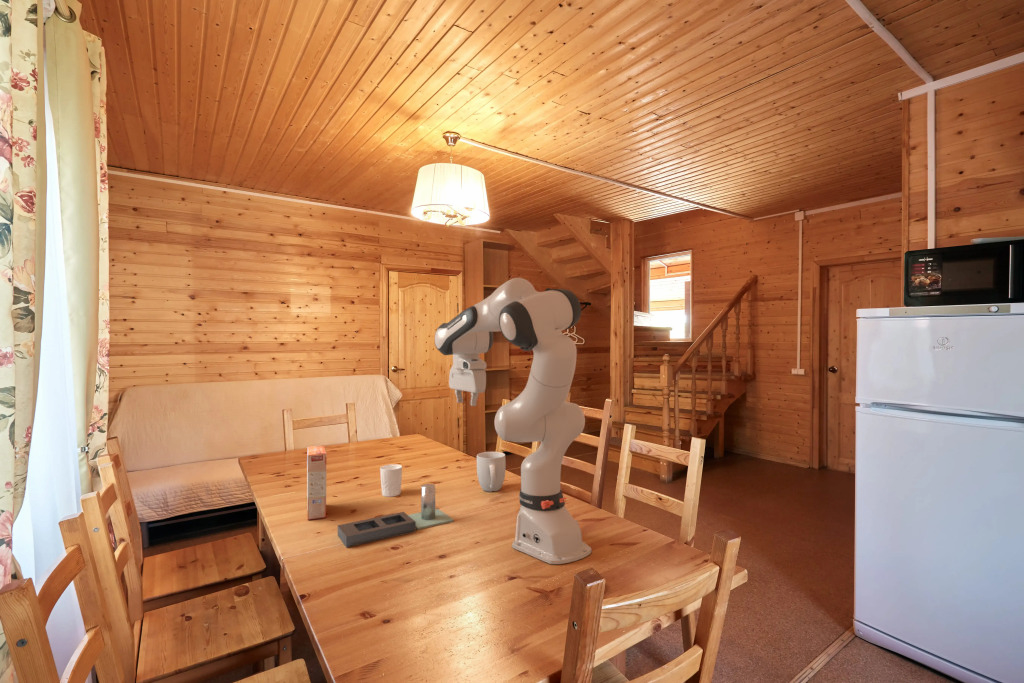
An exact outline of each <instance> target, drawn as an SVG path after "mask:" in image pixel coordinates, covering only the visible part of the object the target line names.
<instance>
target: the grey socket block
mask: <svg viewBox="0 0 1024 683" xmlns="http://www.w3.org/2000/svg"><path fill="white" fill-rule="evenodd" d="M408 515H409V514H407V513H406V512H405V511H400V512H395V513H390V514H386V515H381V516H376V517H371V518H366V519H362V520H361V519H360V520H356V521H351V522H347V523H343V524H337V537H338V538H339V540H340V541H341V542H342V544H343V545H344V546H345V548H351V547H355V546H359V545H364V544H368V543H372V542H377V541H380V540H385V539H389V538H395V537H399V536H402V535H408V534H412V533H416V530H417V529H416V524H415V521H414V520H413V519H412V518H411V517H409V516H408Z"/></svg>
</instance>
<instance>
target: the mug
mask: <svg viewBox="0 0 1024 683" xmlns="http://www.w3.org/2000/svg"><path fill="white" fill-rule="evenodd" d="M506 463H507V462H506V454H505V453H504V452H500V451H483V452H480V453H478V454H476V473H477V474H476V475H477V480H478V484H479V485H480V487H481V489H482V490H483V491H484V492H488V493H489V492H492V491H494V492H497V491H500V490H501V488H502V487H503V485H504V481H505V478H506V469H507V468H506Z"/></svg>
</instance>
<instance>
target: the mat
mask: <svg viewBox="0 0 1024 683" xmlns="http://www.w3.org/2000/svg"><path fill="white" fill-rule="evenodd" d="M407 515H408V516H409V517H411V518H412V519H413V520H414V521H415V524H416V530H417V531H418V530H423V529H427V528H431V527H434V526H435V527H436V526H440V525H444V524H448V523H453V522H454V521H455V519H453V518H452V517H451V516H449V515H448V514H446V513H445V512H444V511H442V510H440V509H439V508H435V518H434V519H432V520H423V519H421V511H420V512H416V513H412V514H407ZM454 523H455V522H454Z"/></svg>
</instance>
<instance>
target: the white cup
mask: <svg viewBox="0 0 1024 683" xmlns="http://www.w3.org/2000/svg"><path fill="white" fill-rule="evenodd" d="M379 472H380V486H381V495H382V496H383V497H396V496H399V495H401V493H402V480H403V476H402V475H403V466H402V465H401V464H393V463H392V464H391V463H390V464H385V465H382V466H380V467H379Z"/></svg>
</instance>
